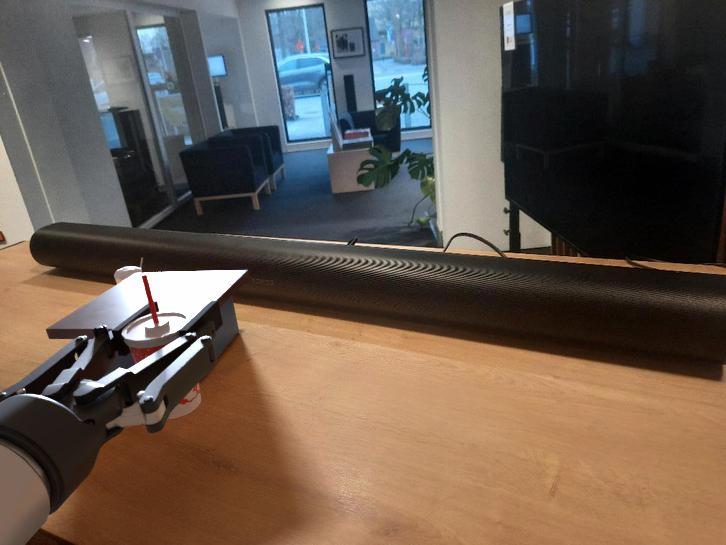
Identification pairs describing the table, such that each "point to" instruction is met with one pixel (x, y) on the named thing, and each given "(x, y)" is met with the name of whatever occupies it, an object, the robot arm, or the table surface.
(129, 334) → the beverage cup
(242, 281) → the board
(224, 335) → the blue box
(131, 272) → the milkshake
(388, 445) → the table surface
